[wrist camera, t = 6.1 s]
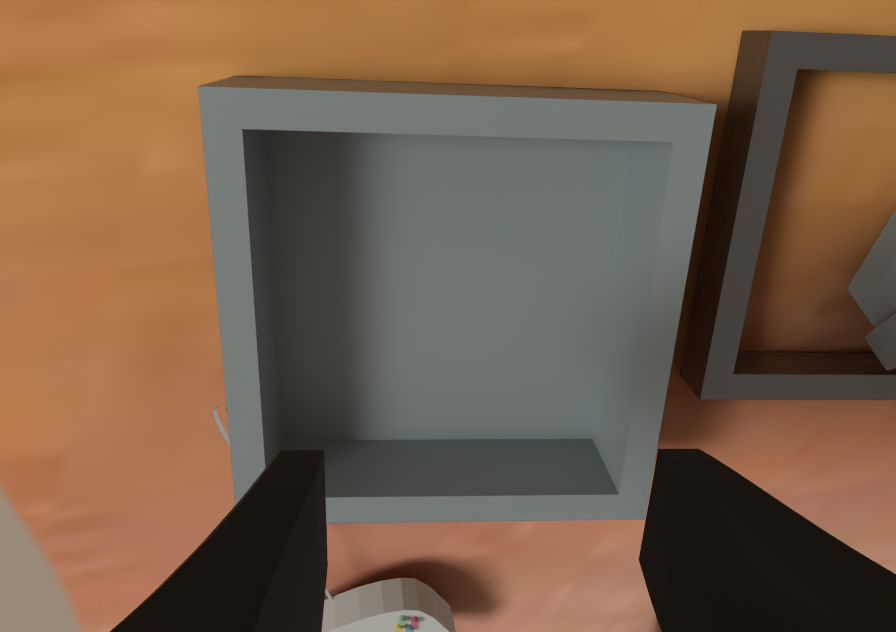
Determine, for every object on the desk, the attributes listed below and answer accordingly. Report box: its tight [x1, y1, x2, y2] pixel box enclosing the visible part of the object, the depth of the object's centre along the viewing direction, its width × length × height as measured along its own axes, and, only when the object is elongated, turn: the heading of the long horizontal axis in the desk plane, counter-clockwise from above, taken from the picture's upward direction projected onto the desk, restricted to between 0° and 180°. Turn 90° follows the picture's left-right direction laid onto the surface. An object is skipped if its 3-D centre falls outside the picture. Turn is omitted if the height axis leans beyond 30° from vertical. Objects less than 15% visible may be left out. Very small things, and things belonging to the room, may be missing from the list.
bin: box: [198, 76, 717, 523], centre depth 18 cm, size 11×11×4 cm
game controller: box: [213, 405, 455, 632], centre depth 21 cm, size 6×12×3 cm, turn 42°
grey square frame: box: [680, 31, 896, 400], centre depth 19 cm, size 10×10×2 cm
